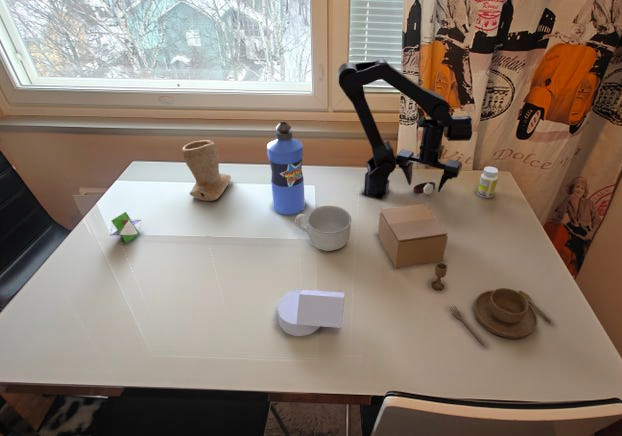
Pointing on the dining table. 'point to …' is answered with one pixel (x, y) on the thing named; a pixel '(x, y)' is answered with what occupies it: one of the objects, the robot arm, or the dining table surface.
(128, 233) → the geometric puzzle
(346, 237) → the teacup
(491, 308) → the place setting
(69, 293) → the dining table surface
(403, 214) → the flap
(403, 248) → the carton
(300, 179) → the water bottle
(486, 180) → the supplement bottle
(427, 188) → the watch
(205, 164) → the stone cup
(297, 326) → the wedge on round base
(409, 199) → the dining table surface
